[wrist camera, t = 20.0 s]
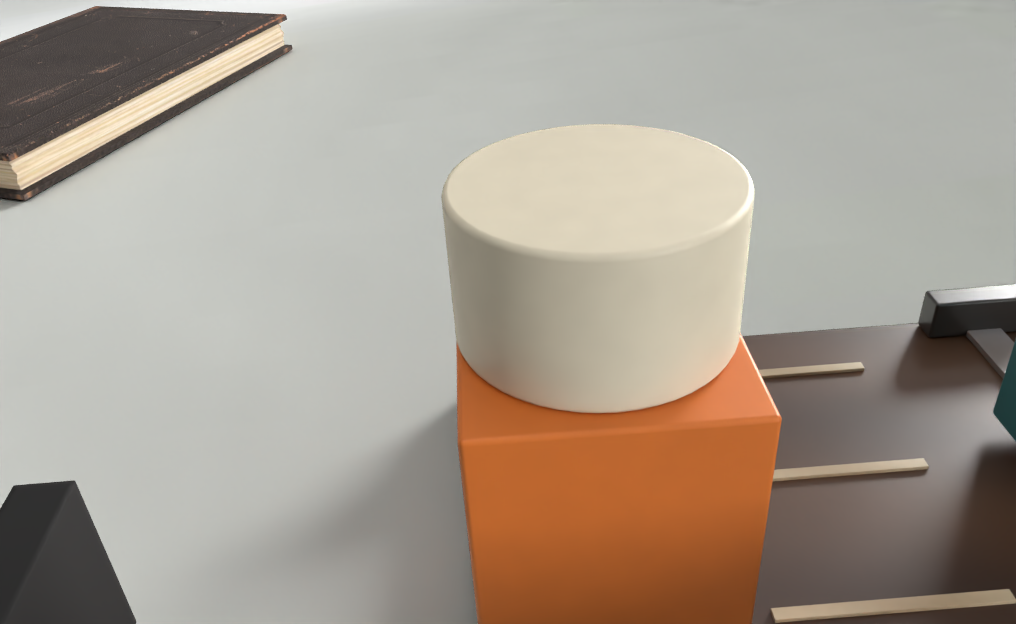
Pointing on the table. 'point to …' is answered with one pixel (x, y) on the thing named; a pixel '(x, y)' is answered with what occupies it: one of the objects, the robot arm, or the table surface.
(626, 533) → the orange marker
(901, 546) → the board
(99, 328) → the table surface
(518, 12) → the table surface
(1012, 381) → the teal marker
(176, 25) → the hardcover book
